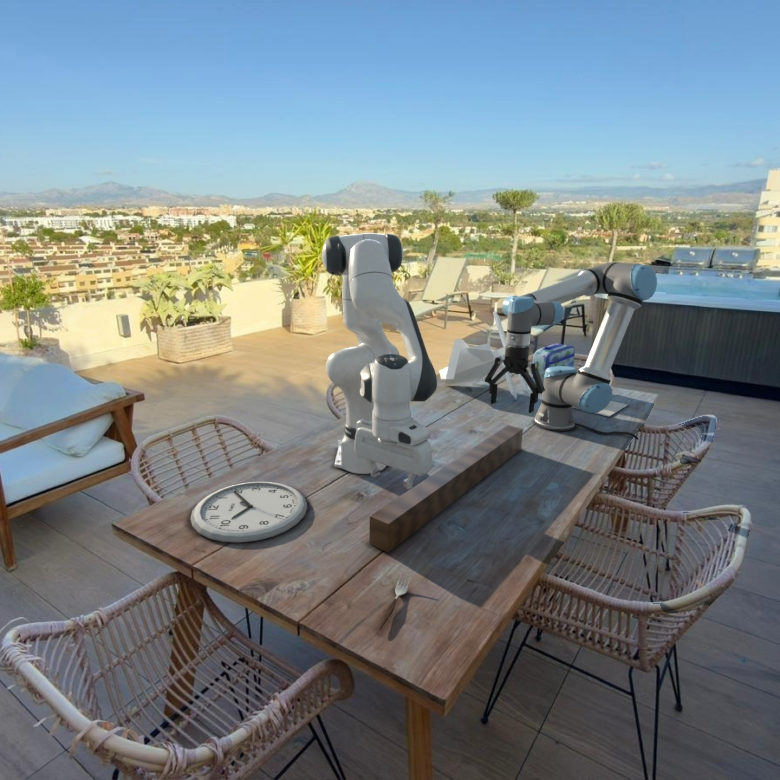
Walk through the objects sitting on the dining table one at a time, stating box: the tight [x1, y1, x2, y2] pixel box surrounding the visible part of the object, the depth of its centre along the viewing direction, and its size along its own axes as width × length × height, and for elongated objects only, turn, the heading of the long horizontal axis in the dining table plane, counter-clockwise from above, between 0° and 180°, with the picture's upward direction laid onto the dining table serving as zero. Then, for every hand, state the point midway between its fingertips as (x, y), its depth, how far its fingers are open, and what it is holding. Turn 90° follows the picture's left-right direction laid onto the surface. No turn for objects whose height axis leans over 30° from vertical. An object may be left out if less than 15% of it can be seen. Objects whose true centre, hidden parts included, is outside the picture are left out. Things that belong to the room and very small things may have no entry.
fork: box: [379, 571, 412, 631], centre depth 105 cm, size 3×16×2 cm, turn 160°
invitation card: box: [573, 400, 629, 418], centre depth 226 cm, size 21×1×15 cm
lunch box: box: [530, 343, 576, 384], centre depth 249 cm, size 26×11×21 cm, turn 134°
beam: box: [369, 424, 524, 553], centre depth 152 cm, size 77×6×8 cm, turn 143°
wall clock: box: [190, 481, 308, 544], centre depth 139 cm, size 30×2×30 cm
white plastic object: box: [438, 310, 531, 400], centre depth 245 cm, size 37×45×31 cm
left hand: (391, 481), depth 123 cm, fingers open, 8 cm apart
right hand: (511, 407), depth 175 cm, fingers open, 13 cm apart
